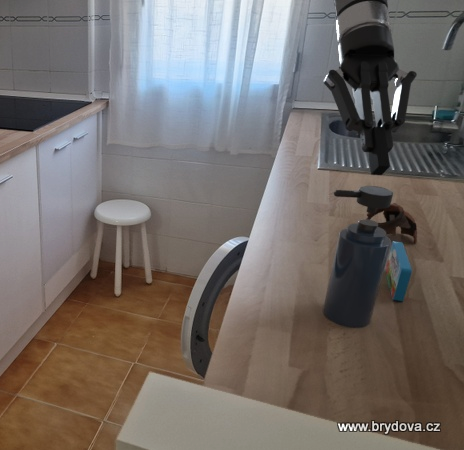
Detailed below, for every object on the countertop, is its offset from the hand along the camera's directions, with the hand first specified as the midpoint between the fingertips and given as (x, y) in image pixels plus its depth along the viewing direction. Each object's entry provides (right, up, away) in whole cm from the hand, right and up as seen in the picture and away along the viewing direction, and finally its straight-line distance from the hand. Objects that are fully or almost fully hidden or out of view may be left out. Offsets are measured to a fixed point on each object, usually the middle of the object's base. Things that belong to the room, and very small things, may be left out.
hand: (380, 170), depth 78 cm
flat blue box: (+13, -19, +18) cm, 29 cm away
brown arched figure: (+24, -10, +38) cm, 46 cm away
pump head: (-2, -6, +3) cm, 7 cm away
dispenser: (0, -23, +10) cm, 24 cm away
